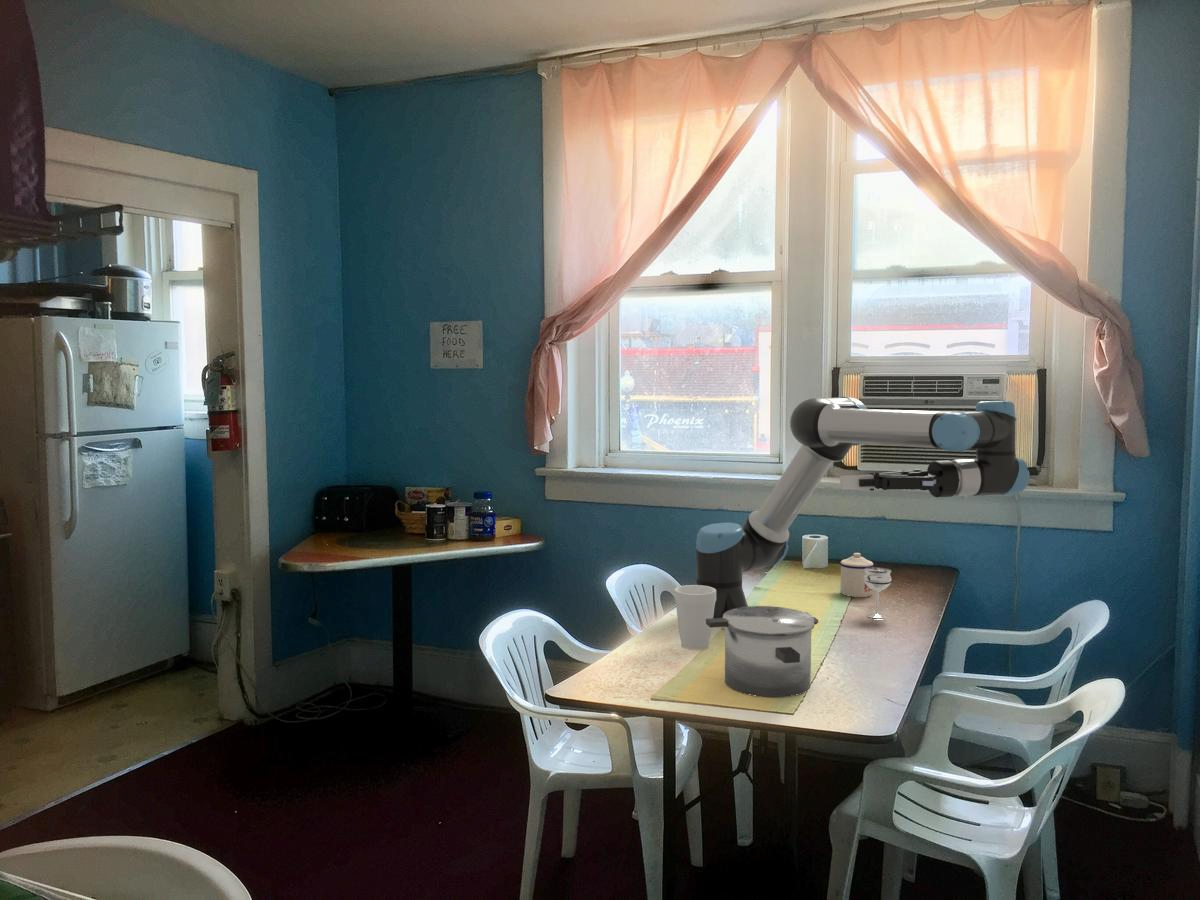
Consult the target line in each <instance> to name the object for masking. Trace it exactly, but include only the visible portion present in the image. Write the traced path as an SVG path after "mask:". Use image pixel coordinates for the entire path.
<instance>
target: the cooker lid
mask: <svg viewBox="0 0 1200 900" xmlns="http://www.w3.org/2000/svg"><path fill="white" fill-rule="evenodd" d="M818 623H819V619H818V618H816V617H815V616H813V615H812V614H811V613H809V612H807V611H805V612H804V611H802V610H797V609H793V608H789V607H783V606H772V605H771V606H770V605H766V606H765V605H759V606H758V605H753V606H748V607H741V608H736V609H732V610H729V611H727V612H725V613H724V614H723V618H709V619H706V624H707V625H708V626H709V627H710V628H712V629H713V628H725V627H728V628H729V629H732V630H734V631H738V632H742V633H746V634H752V635H761V636H791V635H798V634H802V633H806V632H809V631H811V632H812V630H813V629H814V627H815V625H818Z"/></svg>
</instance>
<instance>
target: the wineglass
mask: <svg viewBox="0 0 1200 900" xmlns="http://www.w3.org/2000/svg"><path fill="white" fill-rule="evenodd" d="M864 570H865V572H866V573H865V575H864V581H865V584H866V585H867V586H868V587H869V588H871V589H872V591H873V592H874V593H875V613H870V614H867V615H868V616H870V617H873V618H884V617H885V616H886V615H884V614H881V613H879V612H878V611H879V596H880V593H881V591H883V590H886V589H887V588H888V587H889V586H890V585H891V584H892V576H891V573H892V570H891V569H889V568H884V567H883V568H882V567H873V568H866V569H864Z"/></svg>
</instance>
